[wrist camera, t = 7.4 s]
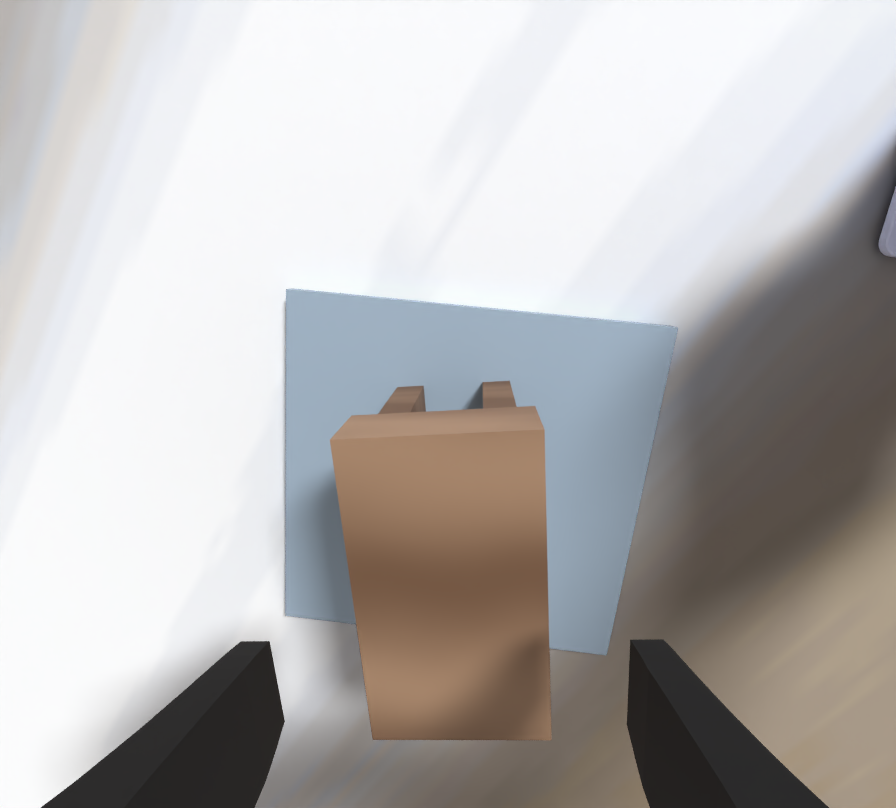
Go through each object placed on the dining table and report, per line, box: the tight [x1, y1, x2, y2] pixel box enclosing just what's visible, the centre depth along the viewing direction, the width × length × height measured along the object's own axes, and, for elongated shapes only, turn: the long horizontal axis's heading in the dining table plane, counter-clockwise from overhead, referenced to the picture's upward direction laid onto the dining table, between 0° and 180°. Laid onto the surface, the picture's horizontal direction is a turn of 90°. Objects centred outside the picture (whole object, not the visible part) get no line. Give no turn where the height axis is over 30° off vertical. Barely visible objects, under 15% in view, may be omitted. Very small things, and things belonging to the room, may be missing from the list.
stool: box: [330, 381, 551, 740], centre depth 16 cm, size 9×5×7 cm, turn 4°
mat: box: [286, 289, 678, 655], centre depth 19 cm, size 14×14×1 cm
